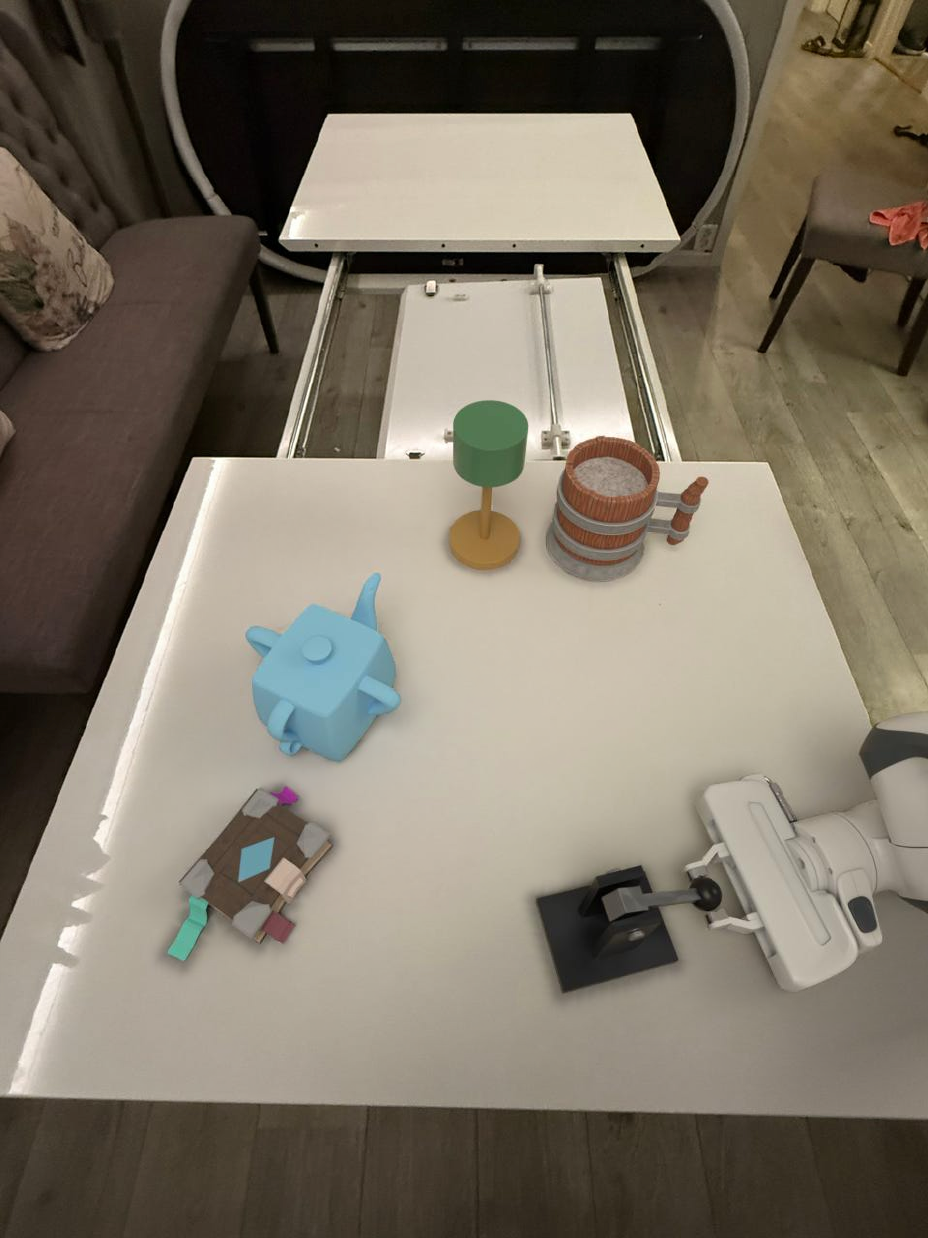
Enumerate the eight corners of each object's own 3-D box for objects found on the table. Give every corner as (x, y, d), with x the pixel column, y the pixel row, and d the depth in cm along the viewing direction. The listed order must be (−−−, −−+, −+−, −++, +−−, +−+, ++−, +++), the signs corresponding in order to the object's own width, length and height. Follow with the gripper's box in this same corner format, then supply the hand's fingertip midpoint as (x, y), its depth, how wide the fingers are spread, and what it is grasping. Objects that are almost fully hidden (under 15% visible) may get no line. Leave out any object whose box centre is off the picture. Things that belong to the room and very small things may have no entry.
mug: (548, 504, 110) (560, 424, 97) (678, 517, 108) (707, 439, 96) (542, 577, 102) (554, 500, 89) (682, 592, 100) (714, 517, 88)
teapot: (410, 757, 86) (404, 701, 75) (268, 783, 84) (241, 729, 73) (387, 631, 96) (379, 565, 85) (260, 651, 94) (235, 587, 83)
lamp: (530, 558, 103) (546, 441, 86) (464, 578, 101) (466, 461, 84) (503, 510, 109) (512, 390, 91) (439, 527, 107) (437, 407, 89)
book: (238, 1009, 71) (225, 1002, 66) (147, 937, 74) (129, 926, 70) (362, 836, 80) (357, 820, 76) (276, 780, 84) (267, 762, 80)
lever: (697, 882, 75) (720, 871, 73) (711, 914, 73) (734, 903, 71) (596, 893, 67) (618, 880, 65) (608, 929, 65) (631, 917, 63)
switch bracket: (642, 873, 78) (671, 833, 68) (676, 962, 73) (713, 934, 63) (535, 901, 77) (548, 864, 66) (562, 994, 72) (581, 970, 61)
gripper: (781, 758, 78) (662, 788, 75) (893, 960, 67) (758, 1003, 64) (759, 781, 83) (647, 810, 81) (859, 972, 72) (733, 1013, 69)
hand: (697, 898), depth 72 cm, fingers closed on lever, 3 cm apart
